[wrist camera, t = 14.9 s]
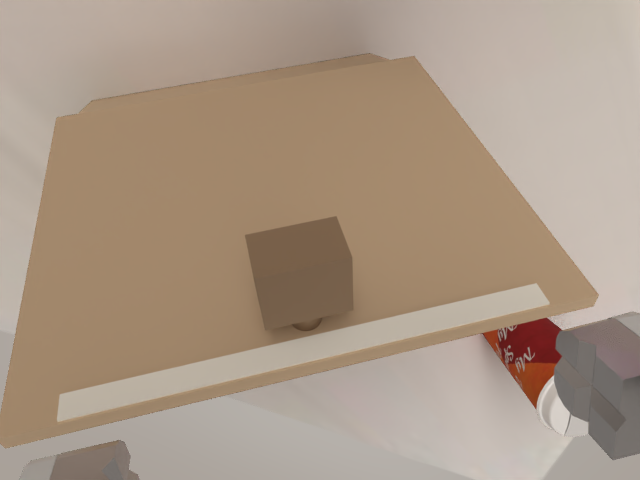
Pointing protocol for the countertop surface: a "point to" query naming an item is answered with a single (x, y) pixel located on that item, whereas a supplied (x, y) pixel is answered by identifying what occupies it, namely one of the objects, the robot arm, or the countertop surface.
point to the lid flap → (266, 245)
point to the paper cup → (536, 370)
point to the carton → (230, 82)
